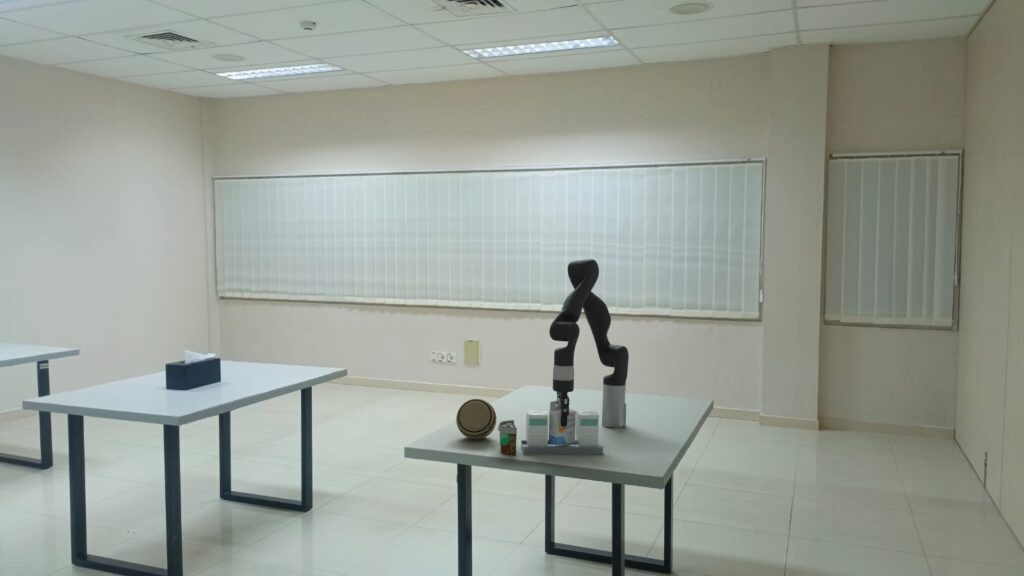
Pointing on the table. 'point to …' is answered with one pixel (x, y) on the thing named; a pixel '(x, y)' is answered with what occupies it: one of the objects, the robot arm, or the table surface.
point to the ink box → (556, 431)
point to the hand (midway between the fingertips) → (562, 423)
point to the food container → (508, 437)
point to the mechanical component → (476, 419)
